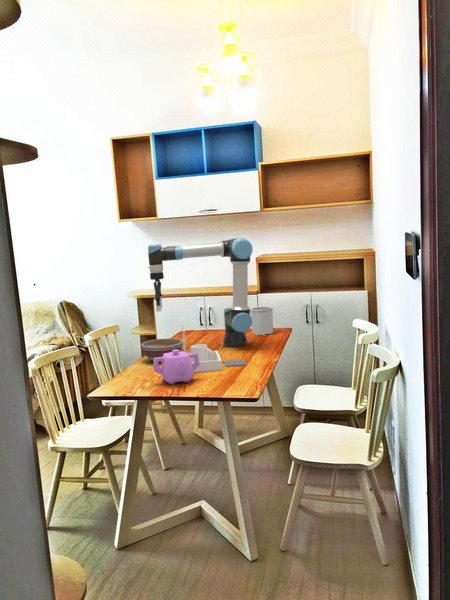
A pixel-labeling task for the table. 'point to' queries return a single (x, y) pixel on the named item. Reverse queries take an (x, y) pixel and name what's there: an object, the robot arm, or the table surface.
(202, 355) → the mug
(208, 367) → the cold frame
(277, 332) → the table surface
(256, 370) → the table surface
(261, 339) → the table surface
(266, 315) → the utensil holder
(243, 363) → the slate mat
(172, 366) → the purple rounded pot
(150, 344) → the bowl
